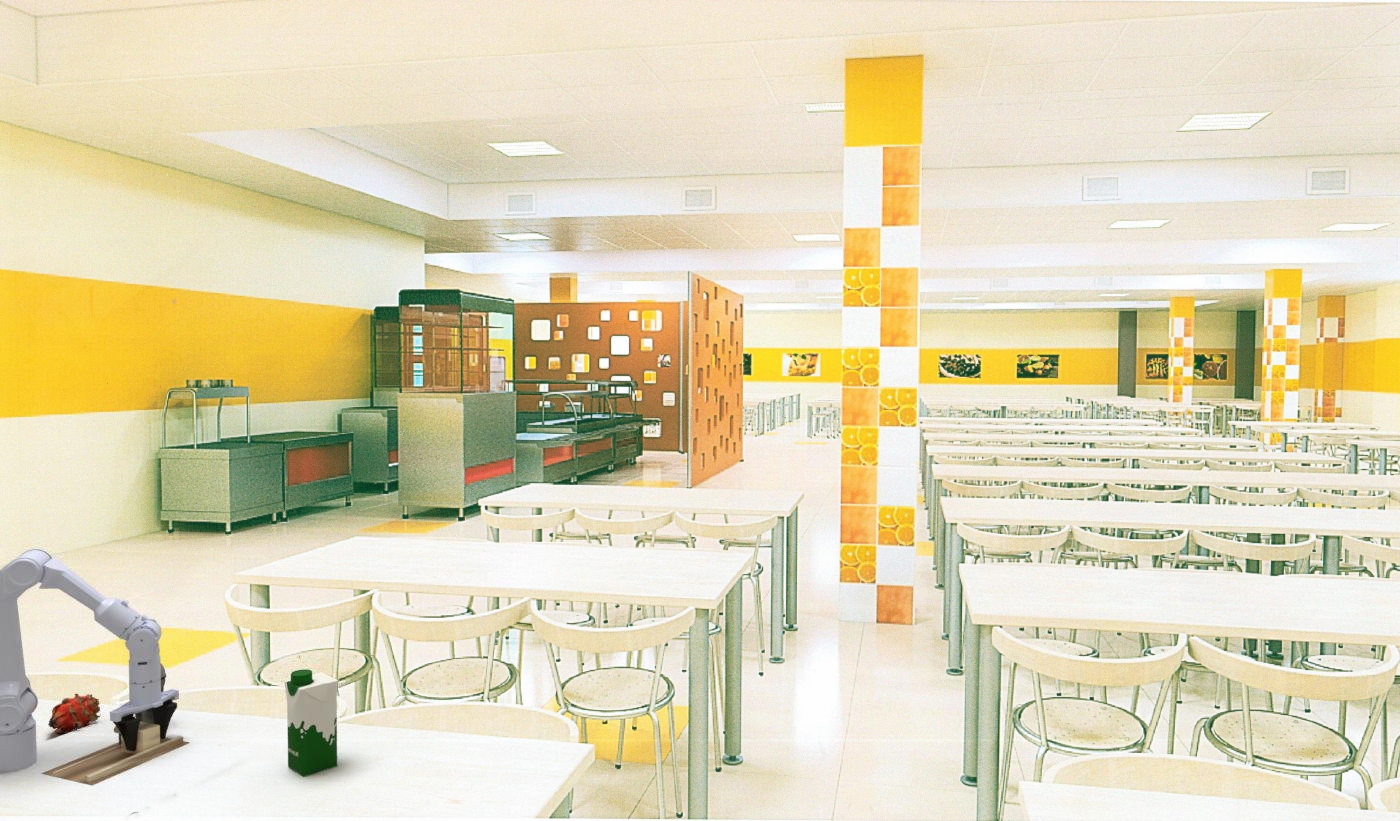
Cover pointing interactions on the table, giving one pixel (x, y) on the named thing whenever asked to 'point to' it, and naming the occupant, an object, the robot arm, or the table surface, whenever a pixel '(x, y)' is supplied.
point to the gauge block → (143, 737)
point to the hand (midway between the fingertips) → (146, 743)
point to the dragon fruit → (74, 713)
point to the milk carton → (311, 721)
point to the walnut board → (111, 762)
